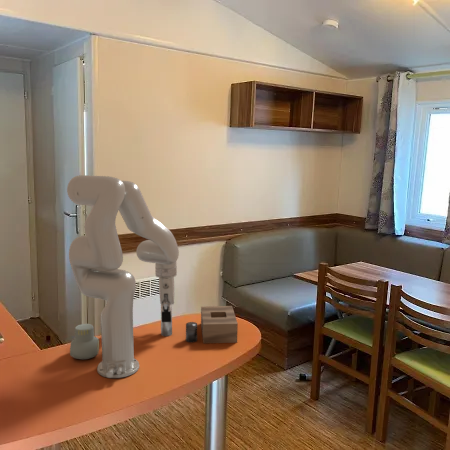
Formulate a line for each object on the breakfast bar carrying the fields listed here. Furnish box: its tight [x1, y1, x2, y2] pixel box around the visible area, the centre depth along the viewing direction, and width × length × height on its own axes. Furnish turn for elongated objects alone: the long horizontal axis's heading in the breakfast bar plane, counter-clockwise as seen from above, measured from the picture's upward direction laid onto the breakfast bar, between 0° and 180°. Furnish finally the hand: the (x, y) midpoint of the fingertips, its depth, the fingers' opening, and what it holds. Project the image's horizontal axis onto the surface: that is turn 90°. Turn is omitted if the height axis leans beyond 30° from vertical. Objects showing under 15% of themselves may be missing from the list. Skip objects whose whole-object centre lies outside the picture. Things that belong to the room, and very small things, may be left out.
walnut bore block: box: [200, 305, 238, 344], centre depth 173 cm, size 18×12×7 cm, turn 5°
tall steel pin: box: [160, 302, 173, 337], centre depth 171 cm, size 4×4×12 cm
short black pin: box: [185, 321, 198, 344], centre depth 167 cm, size 4×4×6 cm
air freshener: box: [69, 323, 100, 360], centre depth 153 cm, size 11×8×10 cm
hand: (166, 316), depth 171 cm, fingers open, 9 cm apart
